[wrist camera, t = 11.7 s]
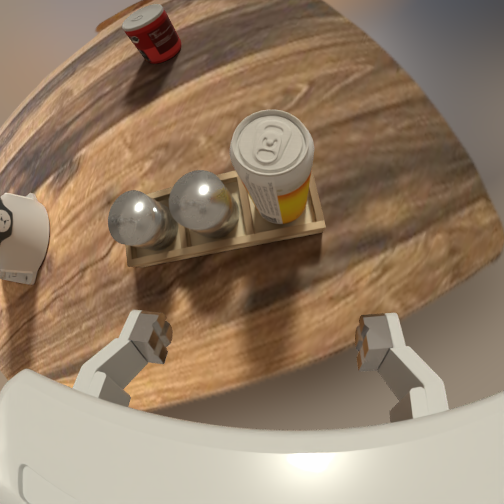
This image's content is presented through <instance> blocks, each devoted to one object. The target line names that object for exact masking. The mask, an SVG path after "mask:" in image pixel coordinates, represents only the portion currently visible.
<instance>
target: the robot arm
mask: <svg viewBox="0 0 504 504" xmlns="http://www.w3.org/2000/svg"><path fill="white" fill-rule="evenodd" d="M48 240H49V218H48V214H47V211H46V209H45V207H44V206H43V205H42V204H41V203H39V202H38V201H37V198H36V196H35V194H33V193H29V194H28V195H27V196H26V197H23V196H19V195H14V194H10V193H5V194H4V195H2V196H1V197H0V279H3V280H7V281H13V282H18V283H23V284H29V285H33V284H34V282H35V279H36V275H37V271H38V269H39V267H40V265H41V263H42V261H43V259H44V257H45V254H46V250H47V246H48ZM166 318H167V317H166V316H165V314H164V313H160V312H150V311H142V310H132V311H131V312H130V314H129V316H128V318H127V321H126V323H125V325H124V327H123V329H122V332H121V334H120V336H119V338H115V339H114V340H113V341H112V342H111V343H109V344H108V345H107V346H106V347H104V348H103V349H102V350H101V351H99V352H98V353H97V354H96V355H94V356H93V357H92V358H91V359H90V360H88V361H87V362H86V363H85V364H83V365H82V367H81V369H80V372H79V374H78V376H77V379H76V381H75V384H74V386H73V388H70V387H68V386H66V385H63V384H61V383H58V382H56V381H54V380H52V379H49V378H47V377H45V376H43V375H41V374H39V373H37V372H35V371H33V370H30V369H24V370H22V371H20V372H19V373H18V374H16V375H15V376H14V377H12V378H11V379H10V380H9V381H7V383H6V384H5V385H4V387H3V388H2V390H1V392H0V504H504V391H502V392H499V393H497V394H494V395H492V396H489V397H486V398H484V399H481V400H478V401H475V402H472V403H469V404H466V405H463V406H460V407H457V408H453V409H450V410H449V408H448V402H447V397H446V392H445V388H444V383H443V381H442V380H441V379H440V378H439V377H438V376H437V374H436V373H435V372H434V371H433V370H432V369H431V368H430V367H429V366H428V365H427V364H426V363H425V362H424V361H423V360H422V359H421V358H420V357H419V356H418V355H417V354H416V353H415V352H414V351H413V350H412V349H411V348H410V347H409V346H406V345H405V341H404V337H403V333H402V329H401V326H400V322H399V318H398V315H397V314H396V313H387V314H384V313H382V314H369V315H361V316H360V318H359V326H357V328H356V332H355V347H356V349H357V350H358V351H359V353H358V356H357V363H358V371H373V370H378V373H379V374H380V375H381V377H382V378H383V379H384V381H385V382H386V384H387V385H388V386H389V388H390V389H391V390H392V392H393V393H394V394H395V396H396V397H397V399H398V400H399V402H398V403H397V404H396V405H395V406H394V407H393V408H392V409H391V411H390V423H386V424H379V425H371V426H364V427H354V428H342V429H328V430H264V429H248V428H236V427H227V426H219V425H211V424H204V423H198V422H191V421H186V420H180V419H175V418H170V417H165V416H161V415H156V414H152V413H148V412H144V411H140V410H136V409H133V408H129V407H128V405H129V402H130V399H131V397H130V395H129V394H128V393H126V392H125V391H124V390H123V389H124V388H125V387H126V386H127V385H128V384H129V383H130V381H131V380H132V379H133V378H134V377H135V376H136V375H137V374H138V373H139V372H140V371H141V370H142V369H143V368H144V367H145V366H146V365H147V364H148V362H151V363H158V364H164V363H165V359H166V356H167V353H168V351H167V348H166V347H167V346H168V345H169V344H171V341H172V334H173V331H172V327H171V325H170V323H168V322H167V321H165V320H166Z"/></svg>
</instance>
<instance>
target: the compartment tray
mask: <svg viewBox="0 0 504 504" xmlns="http://www.w3.org/2000/svg"><path fill="white" fill-rule="evenodd" d="M216 176H217V177H218V178H219V179H220V180H221V181H222V183H223V184H224V185H225V187H226V188H227V189H228V191H229V192H230V193H231V195H232V196H233V197H234V199H235V200H236V202H237V204H238V206H239V220H238V223H237V225H236V226H235V228H234V229H233V230H232V231H231V232H230V233H229V234H228V235H226V236H224V237H221V238H216V239H212V238H207V237H205V236H203V235H201V234H199V233H196V232H194V231H192V230H190V229H188V228H186V227H184V226H182V225H180V224H179V223H178V232H177V236H176V238H175V240H174V241H173V243H172V244H171V245H170V246H169V247H167V248H166V249H164V250H161V251H152V250H148V249H143V248H138V247H134V246H129V245H126V256H127V265H128V267H139V268H142V267H147V266H152V265H157V264H162V263H167V262H173V261H178V260H183V259H188V258H193V257H198V256H203V255H208V254H213V253H218V252H223V251H229V250H234V249H239V248H244V247H249V246H254V245H260V244H265V243H270V242H275V241H280V240H286V239H291V238H296V237H301V236H307V235H312V234H317V233H323V231H324V229H325V228H326V226H325V222H324V217H323V213H322V208H321V204H320V200H319V196H318V192H317V188H316V184H315V180H314V176H313V172H312V170H311V177H310V184H309V190H308V197H307V203H306V207H305V210H304V211H303V213H302V214H301V215H300V216H299V217H298V218H297V219H296V220H294V221H292V222H290V223H286V224H275V223H272V222H269V221H267V220H266V219H264V218H263V217H262V216H261V215H260V214H259V212H258V211H257V209H256V207H255V205H254V203H253V201H252V199H251V198H250V196H249V194H248V192H247V190H246V188H245V187H244V185H243V183H242V181H241V179H240V177H239V176H238V174H237V172H236V171H232V172H228V173H223V174H219V175H216ZM172 188H173V187H170V188H167V189H163V190H160V191H157V192H153V193H150V194H147V196H149V197H151V198H153V199H154V200H156V201H158V202H159V203H161V204H163V205H165V206H166V207H168V208H169V196H170V193H171V190H172Z"/></svg>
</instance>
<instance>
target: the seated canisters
mask: <svg viewBox="0 0 504 504" xmlns="http://www.w3.org/2000/svg"><path fill="white" fill-rule="evenodd" d="M238 220H239V206H238V204H237V202H236V200H235V199H234V197H233V196H232V195H231V193H230V192H229V191H228V189H227V188H226V187H225V185H224V184H223V183H222V181H221V180H220V179H219V178H218V177H217V176H216V175H215V174H213V173H211V172H208V171H204V170H198V171H192V172H190V173H187V174H185V175H184V176H182V177H181V178H180V179H179V180H178V181H177V182H176V183H175V185H174V186H173V188H172V190H171V193H170V196H169V208H168V207H166V206H165V205H163V204H161V203H159V202H158V201H156V200H154V199H153V198H151V197H149V196H147V195H146V194H144V193H142V192H140V191H136V190H132V191H128V192H125V193H123V194H122V195H121V196H119V197H118V198H117V199H116V201H115V202H114V203H113V205H112V207H111V209H110V212H109V217H108V227H109V231H110V233H111V235H112V237H113V238H114V239H115V240H116V241H117V242H119V243H121V244H125V245H129V246H134V247H138V248H143V249H148V250H152V251H161V250H164V249H166V248H167V247H169V246H170V245H171V244H172V243H173V241H174V240H175V238H176V236H177V232H178V223H179V224H180V225H182V226H184V227H186V228H188V229H190V230H192V231H194V232H196V233H199V234H201V235H203V236H205V237H207V238H212V239H216V238H221V237H224V236H226V235H228V234H229V233H230V232H231V231H232V230H233V229H234V228H235V226H236V225H237V223H238Z"/></svg>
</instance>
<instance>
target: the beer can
mask: <svg viewBox="0 0 504 504" xmlns="http://www.w3.org/2000/svg"><path fill="white" fill-rule="evenodd" d="M313 156H314V144H313V140H312V137H311V135H310V133H309V131H308V130H307V129H306V128H305V126H304V125H303V124H302V122H301V121H300V120H299V119H297V118H296V117H295V116H293V115H291V114H289V113H287V112H284V111H280V110H264V111H259V112H256V113H254V114H252V115H250V116H248V117H247V118H245V119H244V120H243V121H242V122H241V123H240V124H239V125H238V127H237V128H236V130H235V132H234V134H233V138H232V141H231V145H230V158H231V162H232V164H233V166H234V168H235V170H236V172H237V174H238V176H239V177H240V179H241V181H242V183H243V185H244V187H245V188H246V190H247V192H248V194H249V196H250V198H251V199H252V201H253V203H254V205H255V207H256V209H257V211H258V212H259V214H260V215H261V216H262V217H263V218H264V219H266V220H267V221H269V222H272V223H275V224H286V223H290V222H292V221H294V220H296V219H297V218H298V217H299V216H300V215H301V214H302V213H303V211H304V210H305V207H306V203H307V197H308V190H309V184H310V177H311V170H312V163H313Z"/></svg>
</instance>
